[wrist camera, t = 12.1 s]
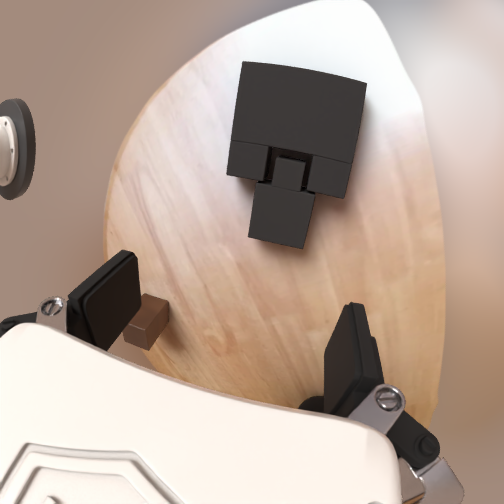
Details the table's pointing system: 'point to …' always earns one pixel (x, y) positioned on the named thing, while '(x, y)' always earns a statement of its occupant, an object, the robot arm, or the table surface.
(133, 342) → the stand
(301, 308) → the table surface
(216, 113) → the table surface
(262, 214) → the small pad
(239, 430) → the robot arm
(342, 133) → the base pad
